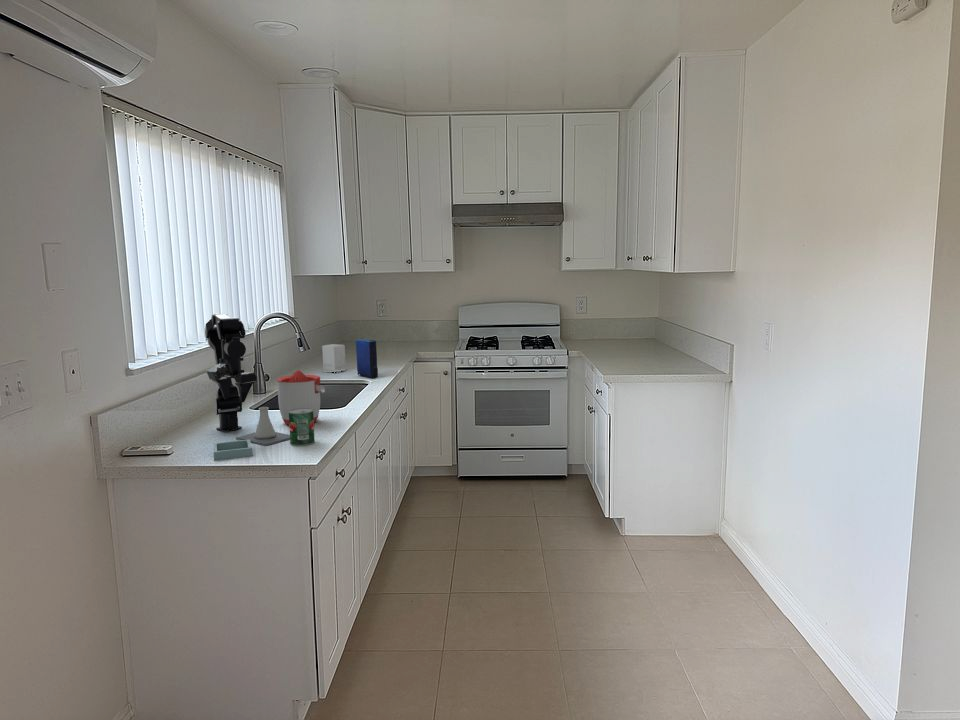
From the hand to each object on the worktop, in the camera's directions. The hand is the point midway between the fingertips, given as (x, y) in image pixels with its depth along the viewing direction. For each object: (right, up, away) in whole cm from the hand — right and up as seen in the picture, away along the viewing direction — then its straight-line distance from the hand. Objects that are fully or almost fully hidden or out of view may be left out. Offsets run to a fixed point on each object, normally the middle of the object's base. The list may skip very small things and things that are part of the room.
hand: (234, 400), depth 218 cm
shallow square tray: (+6, -15, -16) cm, 23 cm away
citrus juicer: (+17, -10, +23) cm, 30 cm away
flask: (+10, -13, +1) cm, 16 cm away
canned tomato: (+24, -14, -5) cm, 29 cm away
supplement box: (+3, +7, +139) cm, 139 cm away
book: (+24, +5, +121) cm, 124 cm away
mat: (+10, -13, +1) cm, 17 cm away
